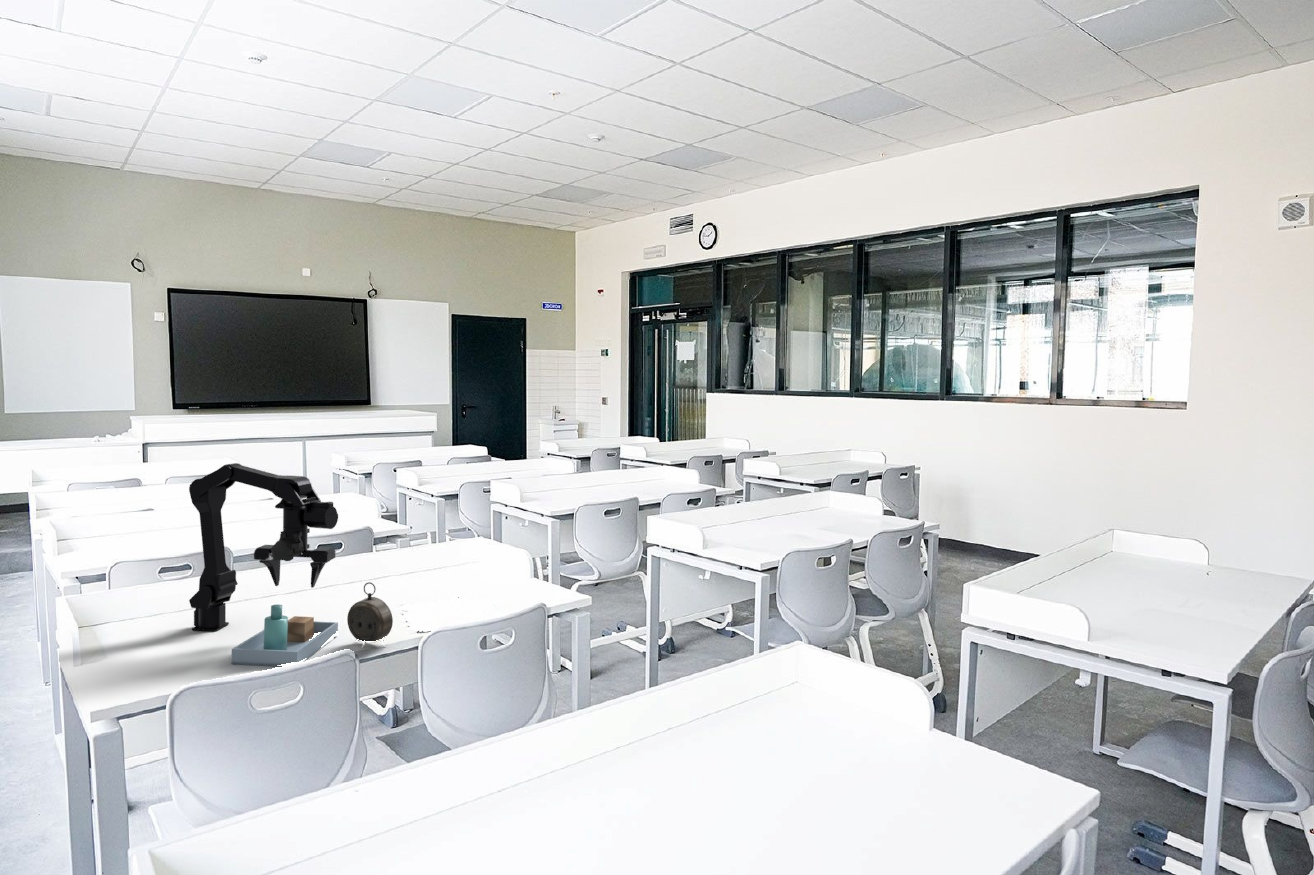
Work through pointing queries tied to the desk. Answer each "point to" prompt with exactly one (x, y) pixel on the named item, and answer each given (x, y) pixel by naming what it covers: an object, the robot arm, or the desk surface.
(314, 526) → the robot arm
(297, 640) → the walnut cube
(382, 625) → the alarm clock
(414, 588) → the desk surface
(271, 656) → the tray
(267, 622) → the teal canister
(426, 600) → the desk surface
